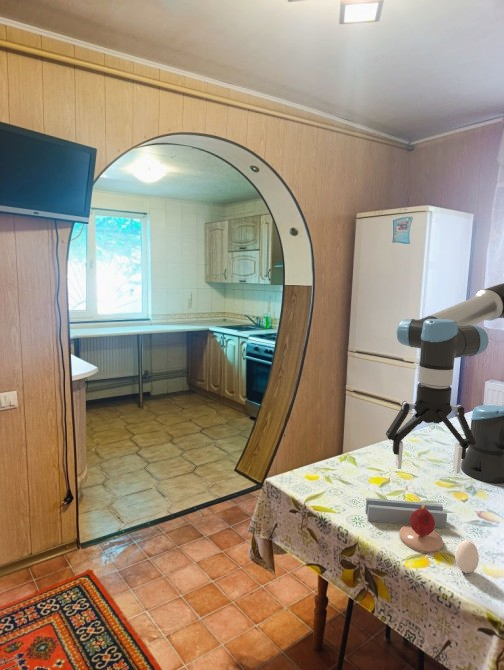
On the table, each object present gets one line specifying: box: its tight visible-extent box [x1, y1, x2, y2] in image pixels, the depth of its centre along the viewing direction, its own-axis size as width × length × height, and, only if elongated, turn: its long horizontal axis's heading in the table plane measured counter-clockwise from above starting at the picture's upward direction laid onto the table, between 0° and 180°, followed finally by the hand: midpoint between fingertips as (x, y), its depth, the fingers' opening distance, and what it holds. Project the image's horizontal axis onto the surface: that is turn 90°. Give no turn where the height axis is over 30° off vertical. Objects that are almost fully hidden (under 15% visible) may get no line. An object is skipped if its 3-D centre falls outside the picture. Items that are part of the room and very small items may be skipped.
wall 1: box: [365, 497, 444, 515], centre depth 118 cm, size 20×1×4 cm, turn 83°
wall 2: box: [366, 505, 448, 529], centre depth 114 cm, size 20×1×4 cm, turn 83°
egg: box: [454, 539, 480, 574], centre depth 96 cm, size 5×5×7 cm
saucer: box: [399, 524, 444, 554], centre depth 108 cm, size 10×10×1 cm
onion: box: [410, 505, 436, 536], centre depth 107 cm, size 6×6×8 cm
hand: (427, 468), depth 105 cm, fingers open, 13 cm apart
